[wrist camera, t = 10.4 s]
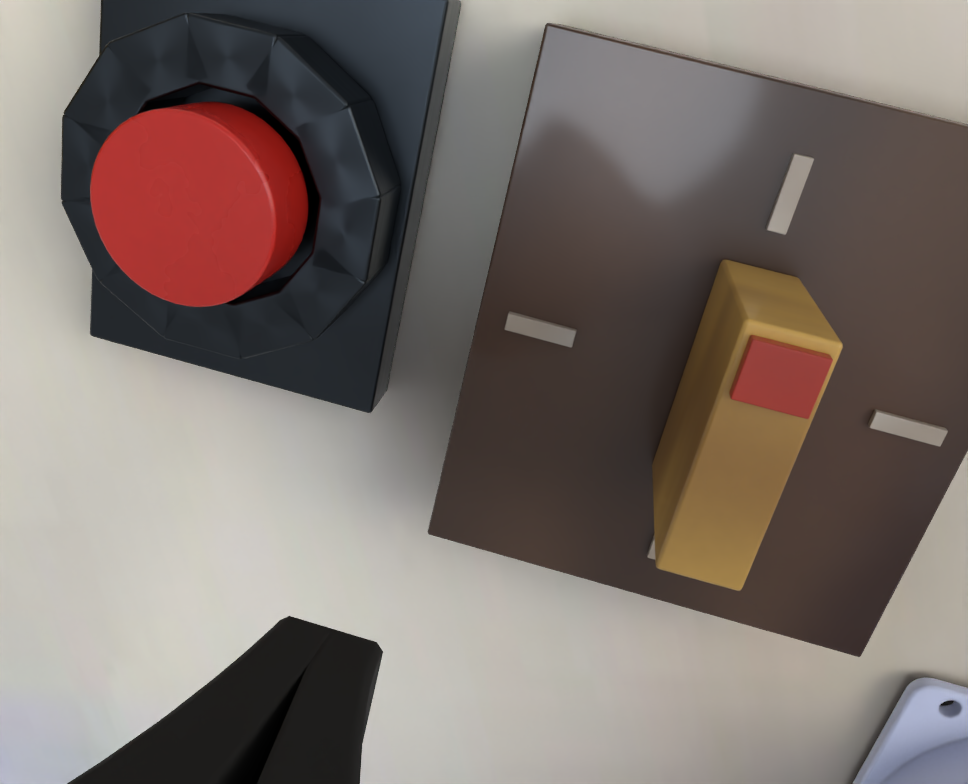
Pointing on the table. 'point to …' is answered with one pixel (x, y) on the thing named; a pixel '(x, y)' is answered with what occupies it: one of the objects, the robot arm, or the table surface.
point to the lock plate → (678, 312)
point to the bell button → (198, 201)
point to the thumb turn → (738, 422)
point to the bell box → (320, 154)
